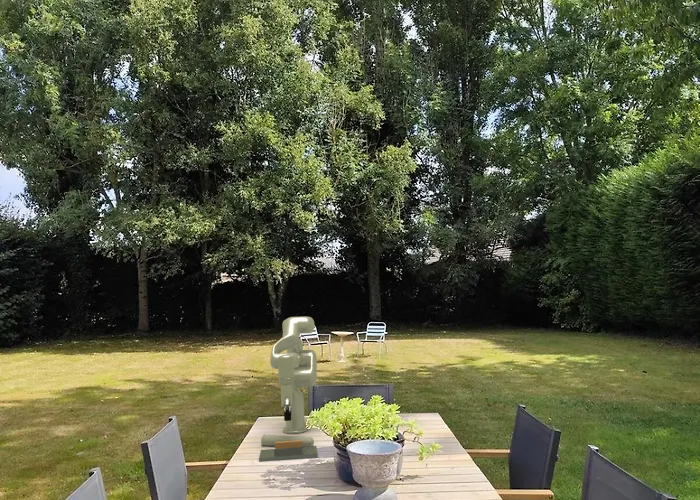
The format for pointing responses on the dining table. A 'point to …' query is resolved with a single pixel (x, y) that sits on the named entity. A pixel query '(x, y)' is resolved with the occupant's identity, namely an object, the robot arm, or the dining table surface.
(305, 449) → the galvanized metal plate
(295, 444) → the bar
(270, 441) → the tube
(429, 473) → the dining table surface
